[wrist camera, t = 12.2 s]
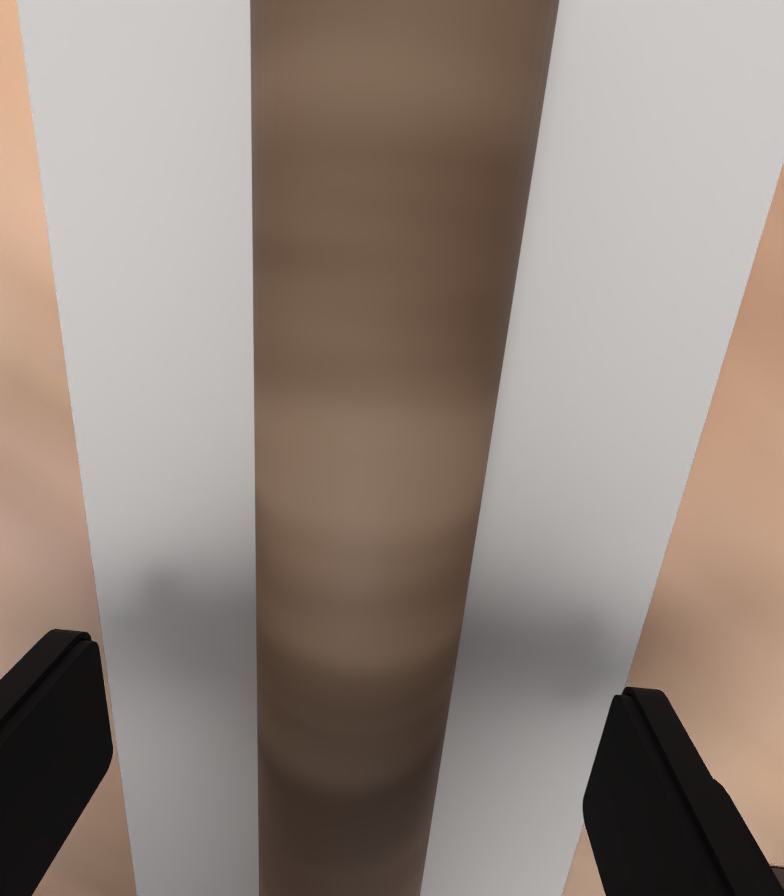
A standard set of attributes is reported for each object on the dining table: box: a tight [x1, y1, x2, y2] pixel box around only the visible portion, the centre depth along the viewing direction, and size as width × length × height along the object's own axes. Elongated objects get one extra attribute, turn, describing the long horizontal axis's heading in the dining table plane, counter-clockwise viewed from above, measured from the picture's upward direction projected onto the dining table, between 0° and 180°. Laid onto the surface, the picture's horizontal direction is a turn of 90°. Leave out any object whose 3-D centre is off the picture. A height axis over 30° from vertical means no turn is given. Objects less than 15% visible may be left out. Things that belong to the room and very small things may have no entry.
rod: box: [250, 0, 559, 896], centre depth 10 cm, size 24×4×4 cm, turn 175°
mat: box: [17, 0, 784, 896], centre depth 12 cm, size 28×12×1 cm, turn 175°
